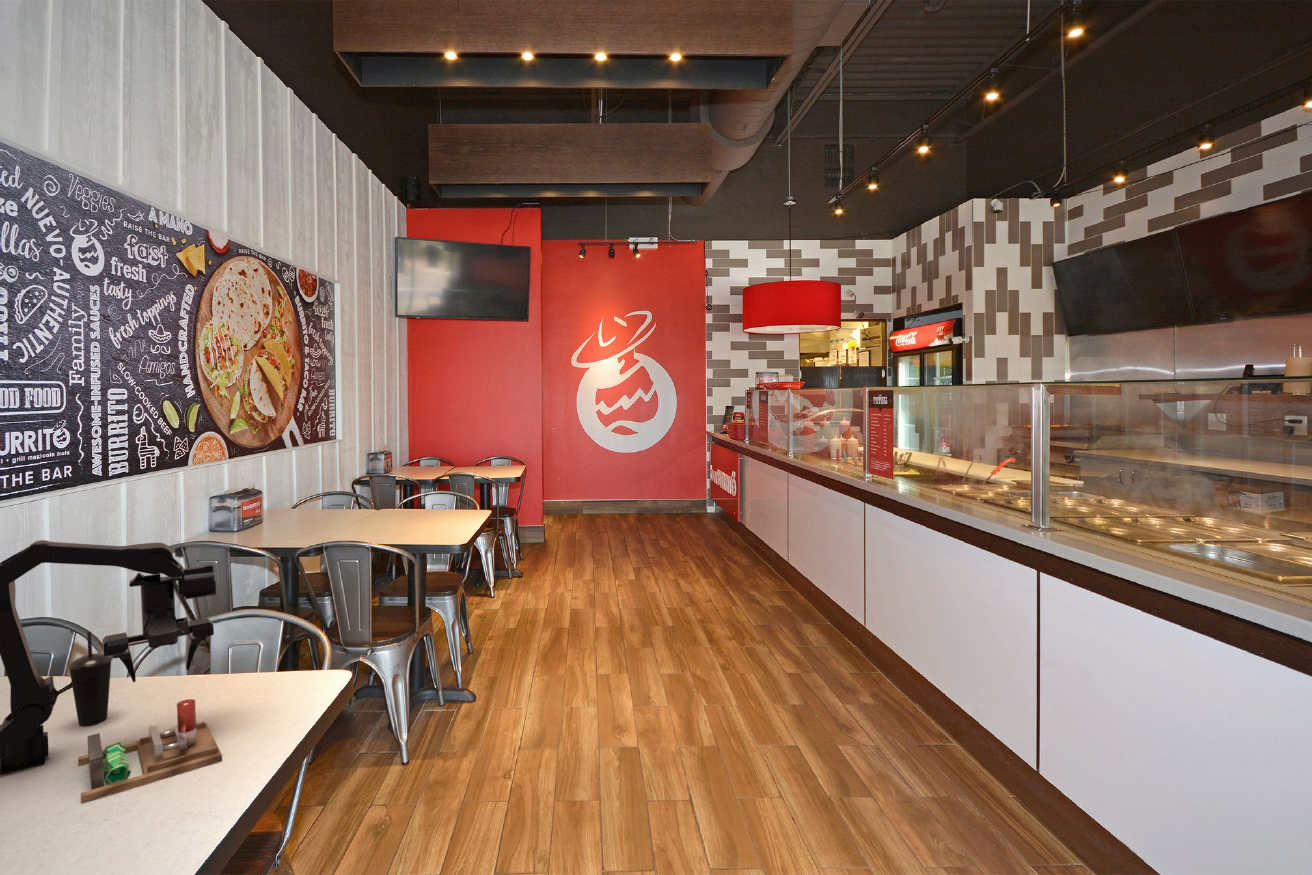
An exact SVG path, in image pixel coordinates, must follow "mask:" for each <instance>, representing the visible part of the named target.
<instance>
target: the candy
mask: <svg viewBox="0 0 1312 875" xmlns="http://www.w3.org/2000/svg"><path fill="white" fill-rule="evenodd" d="M123 745H124V744H122V743H120V742H115V743H113V744H110V745H107V746H106V747H105V749H104V752H103V767H104V773H105V774H106V776H105V777H104V784H106V785H109V784H113V783H116V782H120V781H123V780H126V779H129V777H130V775H131V772H132V771H131V770H130V769H128V767H129V765H130V764H129V760H128V756H127V755H125V754H126V753H125V749H126V748H125V747H124V746H123ZM124 753H125V754H124Z"/></svg>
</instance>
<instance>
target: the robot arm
mask: <svg viewBox="0 0 1312 875" xmlns="http://www.w3.org/2000/svg"><path fill="white" fill-rule="evenodd" d="M41 564H64V565H65V564H67V565H82V566H83V565H84V566H85V565H88V566H106V567H118V568H124V569H125V570H126V569H128V570H130V571H132V572H133V571H134V572H137V574H136V575H135V576H134V577H133V578H132V579H131V580H129V584H128V587H131V588H133V587H140V601H141V603H140V604H141V606H140V607H141V621H142V622H141V625H142V634H136V635H131V636H128V635H127V632H126V631H125V632H121V633H116V634H110V635H105V636H104V637H103V638H102V639H101V643H102V654H104V656H110V655H112V658H113V659H119V660H120V661H121V663H123V665H124V666H125V669H126V670H127V672H128V675H129V677H130V679H131V680H132V682H133V683H136V672H135V668H134V664H133V663H134V662H133V658H132V653H131V650H130V647H131V646H137V645H143V644H146V643H148V647H149V649H158V648H160V647H163V646H174V645H176V644H177V643H178V642H179V640H178V639H179V637H184V636H186V647H185V648H186V649H185V661H184V662H185V670H186V671H190V668H191V665H192V662H193V659H194V657H195V653H196V651H197V649H198V647H199V645H200V644H201V643H202V642H203V641H204V642H205V641H206V640H207V639H208V637H212V636H214V634H215V631H214V628H215V627H214V623H213V622H212V621H211V620H210V618H208V617H205V618H198V619H192V620H189V618H188V616H186V617H180V618H177V617H176V602H175V601H176V598H175V582H176V581H177V590H178V591H177V592H178V593H177V594H178V596H181V597H182V598H184V600H190V599H198V598H205V597H210V596H212V597H213V596H216V595H217V586H216V579H215V572H214V565H213V564H212V563H210V564H205V565H204V564H203V565H201V566H195V567H194V566H193V567H186V568H184V566H183V565H182V563H179V562H178V561H177V559H175V558H174V554H173V550H172V548H171V547H170V546H169V545H168V544H166V543H163V542H146V543H136V544H130V545H107V544H106V545H105V544H91V543H74V542H61V541H60V542H58V541H48V540H45V539H42V540H36V541H34V542H33V543H31V544H30V545H29V546H28V547H26V548H24V549H22V550H20V551H17V552H16V553H15V554H13V555H11V556H9V557H7V558H6V559H4V560H2V561H1V562H0V658H1V661H2V664H3V668H4V670H5V673H6V676H7V678H8V681H9V685H10V692H9V693H10V697H9V699H10V713H9V714H7V715H6V717H5V718H3V721H2V723H1V725H0V776H3V775H7V774H10V773H14V772H18V771H22V770H26V769H30V768H34V767H37V766H40V765H44V764H45V763H46V759H47V757H49V755H50V754H49V752H50V751H49V732H47V731H44V723H45V722H46V721H48V720H49V718H50V717H51V716H52V713H53V709H54V707H55V704H56V702H57V699H58V697H59V693H60V692H59V691H58V690H57V689H56V688H55V684H54V676H53V675H51V676H48V677H46V678H43V676H41V674H40V673H39V672H38V670H37V668H36V665H35V664H36V663H35V662H34V658H33V655H32V652H31V649H30V646H29V642H28V640H27V638H26V634H25V631H24V628H23V624H22V622H21V619H20V616H19V614H18V611H17V607H16V580H17V579H19V578H20V577H22V576H24V575H25V574H26V573H28V572H29V571H30V572H31V571H32V570H33V569H35V568H36V567H37V566H39V565H41ZM143 573H144V574H143ZM145 574H147V575H145ZM161 575H165V576H161Z"/></svg>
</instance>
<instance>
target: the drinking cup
mask: <svg viewBox="0 0 1312 875" xmlns="http://www.w3.org/2000/svg"><path fill="white" fill-rule="evenodd" d="M86 633H87V634H86V635H87V640H86V641H87V654H85V655H82V656H79V657H78V658H76V659H74V660H72V661H70V662H68V663H67V669H69V674H70V675H69V676H70V678H71V680H70V681H71V686H72V692H73V697H74V704H75V711H76V716H77V723H78V726H80V727H92V726H95V725H99V724H102V723H103V722H106V720H107V719H108V713H109V711H108V710H109V700H110V698H109V697H110V696H109V695H110V684H111V682H110V681H111V668H112V661H113V660H114V658H112V655H110V656H104V653H100V652H99V653H93V643H92V631H87V632H86Z"/></svg>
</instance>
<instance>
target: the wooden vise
mask: <svg viewBox="0 0 1312 875" xmlns="http://www.w3.org/2000/svg"><path fill="white" fill-rule="evenodd" d="M196 736H197V742H196V744H194V745H192V746H189V747H187V748H185V749H182V750H179V747H178V748H175V749H171V750H168V751H164V752H163V762H159V763H156V764H155V761H154V757H153V754H152V750H151V747H150V739H149V736H146V737H141V738H139V740H137V741H133V742H129V743H126V744H122V745H123V746H124V747H125V748H126V749H125V753H124V755H125V754H128V753H131V752H132V753H133V752H135V751H137V752H136V753H137V756H138V759H139V763H140V768H141V772H142V774H141V775H137V776H133V777H130V778H128V779H126V780H123V781H120V782H116V783H113V784H109V785H108V784H106V785H105V774H104V773H105V772H104V767H103V762H104V759H103V752H104V750H105V749H104V750H103V748H102V747H103V746H102V742H101V741H102V740H101V734H100V732H98V733H95V734H91V735H87V754H84V755H81V756H78V757H77V763H78V764H77V765H78V767H80V766H84V765H88V771H89V772H88V773H89V782H90V789H89V790H85V791H83V792H80V804H83V803H87V802H90V801H93V800H96V799H100V798H103V797H107V796H109V795H112V794H116V793H119V792H123V791H127V790H130V789H133V788H136V787H139V786H143V785H146V784H150V783H153V782H156V781H160V780H164V779H165V778H167V779H168V778H169V777H173V776H176V775H179V774H183V773H185V772H189V771H192V770H197V769H200V768H202V767H205V766H209V765H213V764H216V763H219V762H223V754H222V752H221V750H220V748H219V746H218V744H217V742H216V740H215V738H214V736H213V734H212V732H211V730H210V728H209V726H208V723H206V721H202V722H199V723H196ZM161 741H162V745H163V746H166V745H169V744H173V743H177V742H176V739H175V736H174V735H170V736H167V737H163V738H161Z"/></svg>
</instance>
